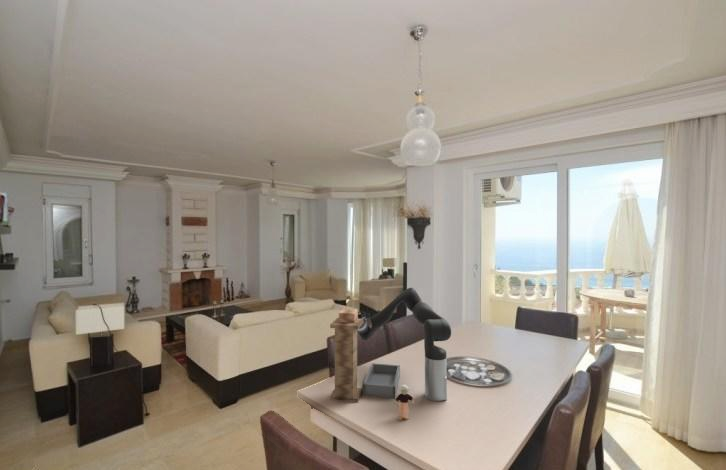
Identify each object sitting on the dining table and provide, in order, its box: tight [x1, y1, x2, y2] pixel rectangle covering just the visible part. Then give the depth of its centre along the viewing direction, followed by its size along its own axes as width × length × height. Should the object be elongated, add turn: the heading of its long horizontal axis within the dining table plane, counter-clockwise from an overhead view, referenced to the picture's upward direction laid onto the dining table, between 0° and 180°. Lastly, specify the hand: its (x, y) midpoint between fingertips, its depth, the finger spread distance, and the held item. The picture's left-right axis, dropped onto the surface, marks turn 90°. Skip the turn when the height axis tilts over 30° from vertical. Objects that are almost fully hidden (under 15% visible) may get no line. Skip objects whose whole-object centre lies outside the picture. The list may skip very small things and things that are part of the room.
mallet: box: [338, 308, 359, 323], centre depth 154 cm, size 7×16×4 cm, turn 169°
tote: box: [362, 362, 401, 399], centre depth 157 cm, size 14×24×5 cm, turn 169°
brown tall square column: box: [329, 317, 363, 403], centre depth 147 cm, size 12×12×32 cm
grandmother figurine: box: [393, 384, 415, 421], centre depth 129 cm, size 8×4×13 cm, turn 105°
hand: (352, 311), depth 159 cm, fingers open, 8 cm apart
